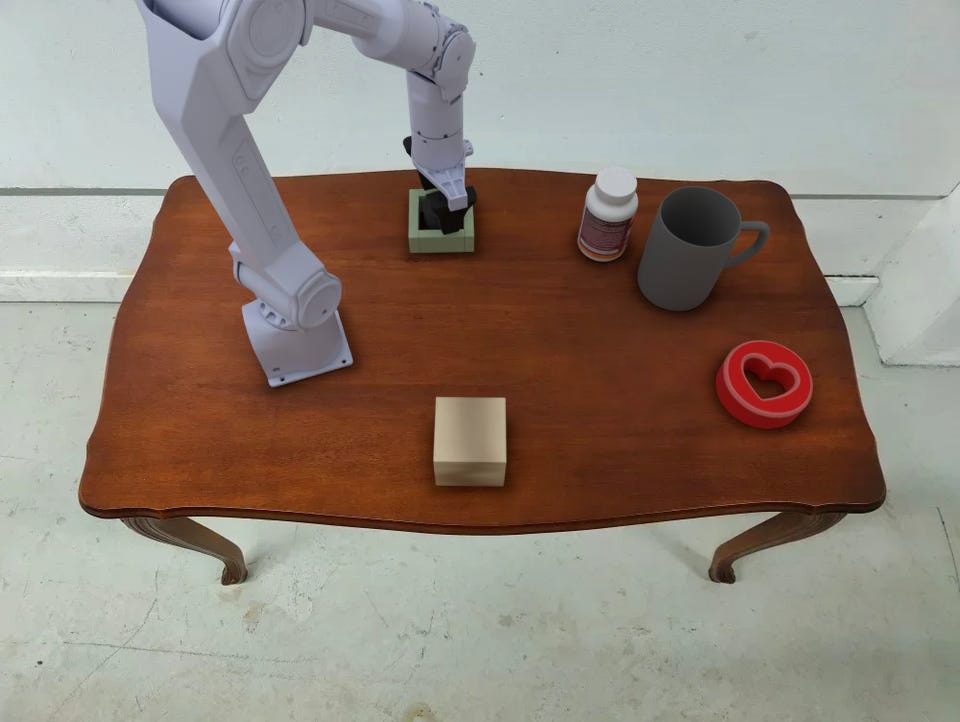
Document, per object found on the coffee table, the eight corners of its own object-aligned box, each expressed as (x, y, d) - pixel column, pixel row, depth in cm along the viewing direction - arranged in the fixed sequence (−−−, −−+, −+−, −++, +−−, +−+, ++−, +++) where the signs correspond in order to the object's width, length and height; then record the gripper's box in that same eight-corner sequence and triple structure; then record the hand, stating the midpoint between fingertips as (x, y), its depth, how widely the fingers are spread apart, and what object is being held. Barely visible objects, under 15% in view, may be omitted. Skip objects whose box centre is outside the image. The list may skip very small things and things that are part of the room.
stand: (435, 485, 73) (433, 461, 67) (438, 424, 77) (436, 396, 71) (503, 486, 73) (506, 462, 68) (502, 425, 77) (505, 397, 71)
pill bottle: (630, 261, 88) (650, 199, 79) (582, 266, 88) (596, 204, 78) (619, 223, 92) (636, 159, 82) (572, 228, 91) (584, 164, 82)
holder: (410, 253, 89) (408, 237, 86) (411, 205, 93) (409, 189, 90) (474, 252, 89) (474, 236, 86) (471, 204, 93) (472, 188, 90)
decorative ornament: (721, 426, 77) (731, 414, 74) (710, 351, 82) (719, 336, 79) (810, 430, 77) (822, 418, 74) (794, 354, 82) (805, 340, 79)
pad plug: (431, 245, 89) (429, 221, 85) (420, 219, 91) (418, 195, 88) (465, 236, 90) (464, 212, 86) (453, 211, 92) (453, 186, 88)
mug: (643, 315, 84) (668, 250, 74) (629, 255, 89) (650, 186, 79) (754, 309, 85) (794, 244, 75) (735, 249, 90) (770, 181, 79)
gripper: (495, 158, 73) (491, 243, 85) (450, 71, 80) (452, 161, 92) (430, 174, 72) (435, 258, 84) (390, 84, 79) (400, 174, 91)
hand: (440, 208), depth 88 cm, fingers open, 7 cm apart
